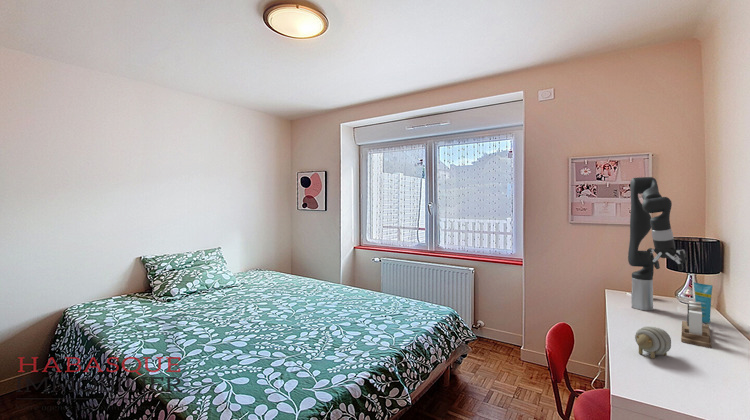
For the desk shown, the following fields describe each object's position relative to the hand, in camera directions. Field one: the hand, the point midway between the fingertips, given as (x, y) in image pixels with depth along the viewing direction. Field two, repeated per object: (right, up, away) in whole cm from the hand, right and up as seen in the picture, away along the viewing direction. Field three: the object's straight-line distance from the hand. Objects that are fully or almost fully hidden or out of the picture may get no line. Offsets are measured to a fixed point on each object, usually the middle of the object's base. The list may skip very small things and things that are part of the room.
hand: (668, 269), depth 153 cm
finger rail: (+3, -28, -10) cm, 30 cm away
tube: (+23, -28, +6) cm, 36 cm away
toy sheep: (-31, -29, -27) cm, 51 cm away
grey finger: (-3, -27, -15) cm, 31 cm away
